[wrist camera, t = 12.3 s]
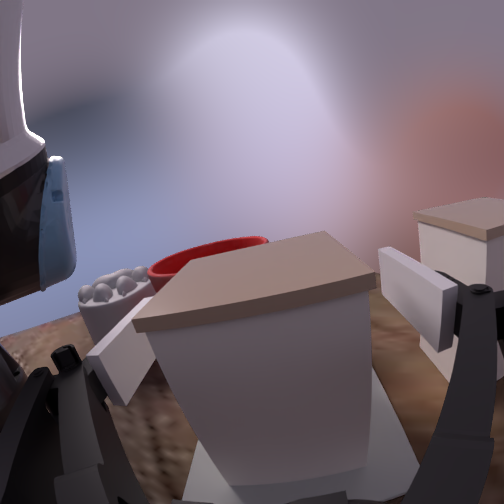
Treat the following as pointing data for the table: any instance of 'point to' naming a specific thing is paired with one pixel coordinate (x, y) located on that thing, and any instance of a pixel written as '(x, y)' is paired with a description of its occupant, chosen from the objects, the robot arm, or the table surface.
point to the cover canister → (270, 357)
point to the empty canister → (463, 255)
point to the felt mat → (354, 481)
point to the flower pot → (174, 263)
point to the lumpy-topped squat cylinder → (112, 299)
